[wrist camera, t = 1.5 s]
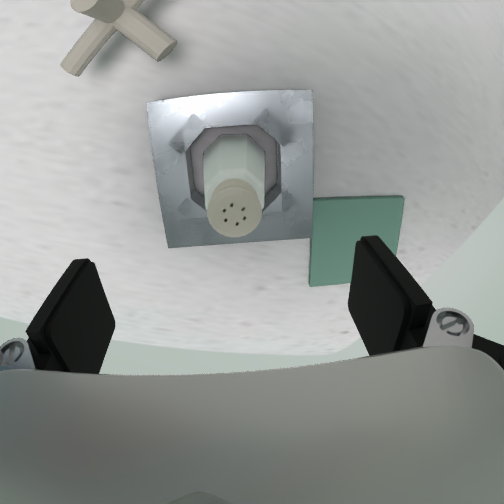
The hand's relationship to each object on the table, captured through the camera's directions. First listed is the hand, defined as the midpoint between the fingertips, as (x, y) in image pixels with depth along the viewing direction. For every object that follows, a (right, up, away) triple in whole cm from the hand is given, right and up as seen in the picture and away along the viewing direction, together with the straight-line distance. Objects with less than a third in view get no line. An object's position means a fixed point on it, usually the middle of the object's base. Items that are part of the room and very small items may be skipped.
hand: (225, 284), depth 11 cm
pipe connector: (-8, +19, +8) cm, 23 cm away
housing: (-1, +8, +15) cm, 17 cm away
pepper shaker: (-1, +8, +15) cm, 17 cm away
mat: (+11, +2, +19) cm, 22 cm away
